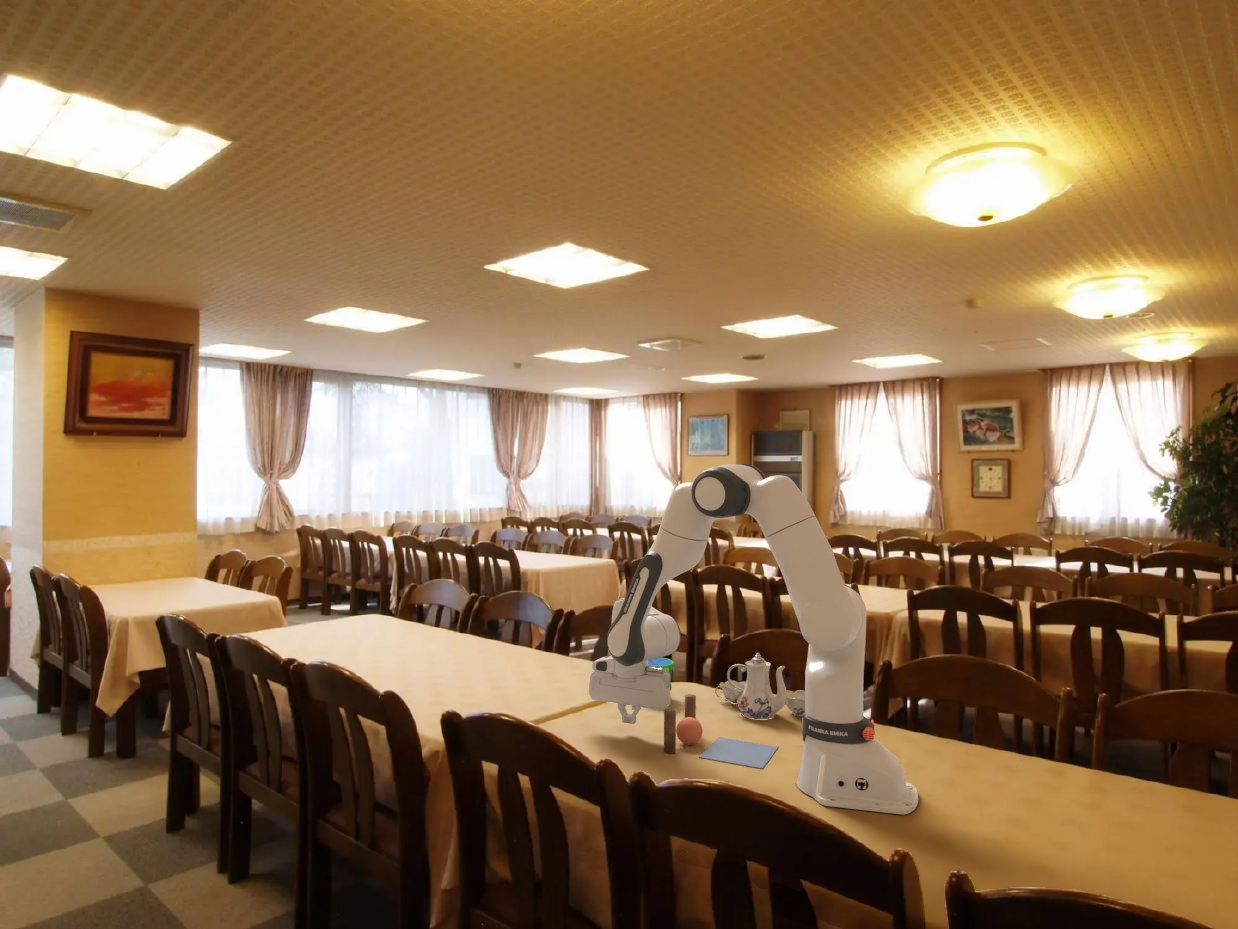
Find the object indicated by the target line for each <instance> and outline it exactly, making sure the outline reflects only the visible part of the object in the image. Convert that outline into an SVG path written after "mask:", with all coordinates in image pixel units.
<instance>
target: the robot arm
mask: <svg viewBox="0 0 1238 929" xmlns="http://www.w3.org/2000/svg"><path fill="white" fill-rule="evenodd" d="M744 514H746V515H749V516H751V517H753V518H754V520H755V521H756V522H757V524H758V526H759V528H760V530H761V532H762V534H763V537H764V538H765V540H766V542H767V544H768V546H769V549H770V551H771V554H772V555H773V557H774V559H775V562H776V564H777V565H778V567H779V570H780V572H781V575H782V577H783V580H784V583H785V585H786V590H787V593H788V595H789V599H790V602H791V605H792V608H793V611H794V614H795V616H796V619H797V621H798V625H799V629H800V633H801V635H802V637H803V639H804V640H805V641H806V642H807V643H808V650H807V656H806V657H807V658H806V666H805V671H804V675H805V676H804V678H805V680H804V691H805V712H804V713H803V716H801V717H802V718H801V734H802V741H803V749H802V756H801V762H800V767H799V771H798V776H797V779H796V782H795V784H796V785H797V787H798V789H799V790H800V791H802V792H803V793H805V794H806V795H808V796H810V797H812V798H813V799H815V801H817V802H818V803H819V804H820V805H821V806H822V805H823V806H826V807H833V808H834V807H835V808H842V809H851V810H859V811H860V810H861V811H869V812H877V813H883V814H894V815H895V814H896V815H908V814H910V813H912V812H913V811H915V810H916V808H917V807H918V804H919V793H918V792H919V791H918V790H917V788H916V787H915V786H914V785H913V784H912V783H911V782H907V780H906V775H905V770H904V768H903V765H902V763H901V760H900V759H899V758H898V756H896V755H895V754H893V753H892V752H891V751H890V750H889V749H888V748H886V747H885V746H884V745H882V743H880V742H879V741H878V740H877V739H876V738H875V724H874V723H875V722H874V720H873V719H871V721H870V720H869V719H868V718H867V717H866V716H864V673H865V672H864V670H865V657H866V656H865V654H866V638H867V635H866V634H867V608H866V607H867V606H866V604H865V601H864V599H863V598H862V596H861V595H860V593H858V592H857V591H856V590H854V589H852V588H851V587H849V586H846V584H845V581H844V579H843V576H842V574H841V571H840V569H839V566H838V563H837V560H836V558H835V552H834V550H833V549H832V547H831V544H830V542H829V540H828V538H827V536H826V534H825V532H824V530H823V528H822V526H821V525H820V522H819V520H818V518H817V517H816V514H815V513H814V510H813V509H812V507H811V504H809V502H808V500H807V498H806V497H805V495H804V494H803V492H802V491H801V490H800V488H799V487H798V486H797V484H796V483H795V481H794V480H793V479H792V478H790V477H789V476H787V475H783V474H781V475H778V474H777V475H775V474H774V475H770V476H768V477H767V476H766V475H765V473H764V472H763V471H762V470H761V469H760V468H758V467H756V466H754V465H752V464H746V463H741V464H735V463H734V464H733V463H726V464H721V465H718V466H711V467H708V468H706V469H705V470H703V471H702V472H700V473H699V474H698V475H697V476H696V477H695V479H694V481H687V482H682V483H680V484H678V485H676V487H675V488H674V489H673V491H672V493H671V495H670V496H669V499H668V501H667V504H666V506H665V510H664V511H663V515H662V517H661V522H660V526H659V529H658V531H657V534H656V536H655V539H654V541H653V543H652V545H651V547H649V550H648V551H647V553H646V554H644V556H643V557H642V558H641V560H640V561H639V564H638V565H637V568H636V570H635V572H634V575H633V577H632V579H631V582H630V585H629V587H628V589H627V593H626V595H625V597H620V598H619V599H617V600H615V601H614V603H613V608H612V611H611V612H612V615H611V625H610V626H609V628H608V632H607V636H606V648H607V650H608V652H609V655H606V656H602V657H600V658H598V659H596V660H594V661H593V662H592V664H591V668H592V670H593V671H592V672H591V673H590V676H589V684H588V696H589V697H590V698H591V700H595V701H602V702H606V703H607V702H608V703H613V704H617V709H618V711H619V713H620V714H621V723H624V724H631V725H635V724H636V722H637V715H638V714H639V712H640V710H641V708H648V709H655V710H658V711H659V710H660V711H664V710H666V709H668V707H669V706H670V705H671V703H672V698H671V691H670V687H669V686H670V674H669V673H668V672H667V671H665V669H663V668H655V667H649V666H648V660H651V659H655V658H658V657H662V658H663V657H665V656H669V655H671V654H674V653H675V652H676V651H677V650H678V648H679V647H680V643H681V640H682V639H681V638H682V637H681V636H682V635H681V634H682V633H681V630H680V626H679V623H678V622H677V620H675V618H673V616H672V615H669V614H666V613H663V612H661V611H659V610H658V609H656V608H655V607H653V603H654V601H655V598H656V596H657V594H658V592H659V591H660V589H661V588H662V587H664V585H665V584H667V583H668V582H670V581H671V580H673V579H674V578H676V577H677V576H679V575H681V574H684V573H686V572H688V571H690V570H691V569H693V568H694V567H695V566H697V565H698V564H699V562H701V559H702V558H703V555H704V553H705V550H706V548H707V545H708V540H709V536H710V534H711V529H712V527H713V523H714V521H715V519H726V518H731V517H739V516H743V515H744ZM664 672H665V673H664ZM627 706H631V710H633V712H632V713H628V711H627V709H626V707H627Z"/></svg>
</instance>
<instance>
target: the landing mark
mask: <svg viewBox="0 0 1238 929" xmlns="http://www.w3.org/2000/svg"><path fill="white" fill-rule="evenodd" d="M777 748H778V749H779V746H776V745H769V744H763V743H759V742H758V743H757V742H751V741H745V740H744V741H743V740H739V739H732V738H726V737H719V736H718V737H717V738H716V739H715V740H714V741H713V742H712V743H711V744H710V745H709V746H708V747H707V748H706V749H705V750H704V751H703V752H702V753H701V754H700V755H699V756H698V758H699V759H703V760H704V759H705V760H710V761H714V762H721V763H726V764H731V765H738V766H743V767H748V768H754V769H760V770H763V769H764V768H765V767H766V765H767V764H768V762H769V761H770V760H771V758H772V757H773V755H774V754H775V753H776V751H777V750H778V749H777Z"/></svg>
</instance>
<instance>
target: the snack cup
mask: <svg viewBox="0 0 1238 929" xmlns="http://www.w3.org/2000/svg"><path fill="white" fill-rule="evenodd" d="M648 666H649V667H655V668H663V669H665V671H667V672H668V673H669V674H670V686H669V687H670V692H671V691H672V687H673V686H672V682H671V680H672V674H673V673H672V672H673V669H674V668H675V662H674V660H672V659H671V658H666V657H663V656H662V657H658V658H655V659H651V660H648ZM664 673H665V672H664Z"/></svg>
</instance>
